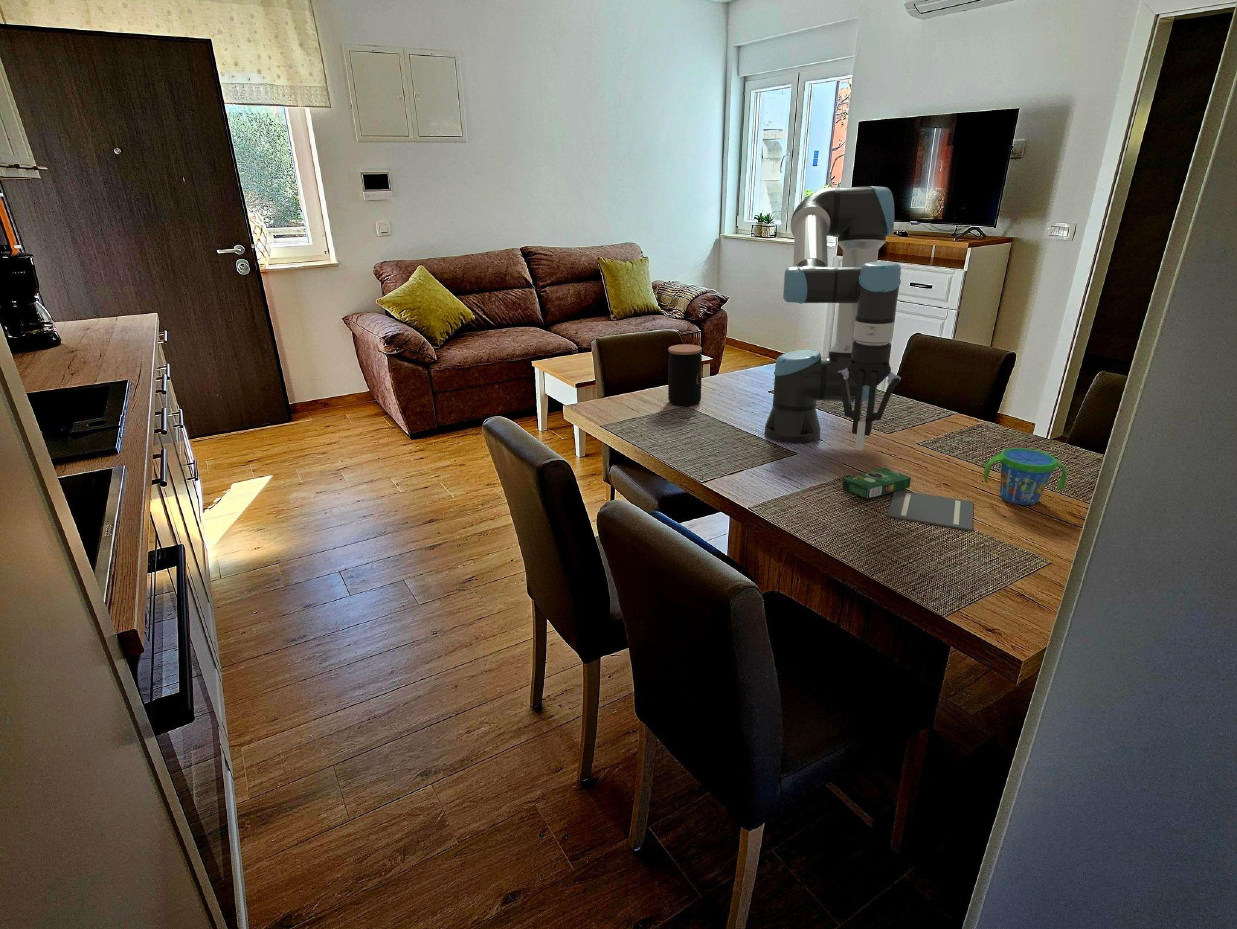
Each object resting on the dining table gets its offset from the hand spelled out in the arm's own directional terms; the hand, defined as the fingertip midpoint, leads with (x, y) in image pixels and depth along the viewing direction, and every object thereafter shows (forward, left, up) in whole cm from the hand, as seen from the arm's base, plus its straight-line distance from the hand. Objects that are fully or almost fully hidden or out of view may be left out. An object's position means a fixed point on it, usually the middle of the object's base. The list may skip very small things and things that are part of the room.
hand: (859, 448), depth 147 cm
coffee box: (0, +1, -10) cm, 10 cm away
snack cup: (+33, +13, -12) cm, 37 cm away
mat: (+16, 0, -12) cm, 20 cm away
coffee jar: (-61, +52, -12) cm, 81 cm away
